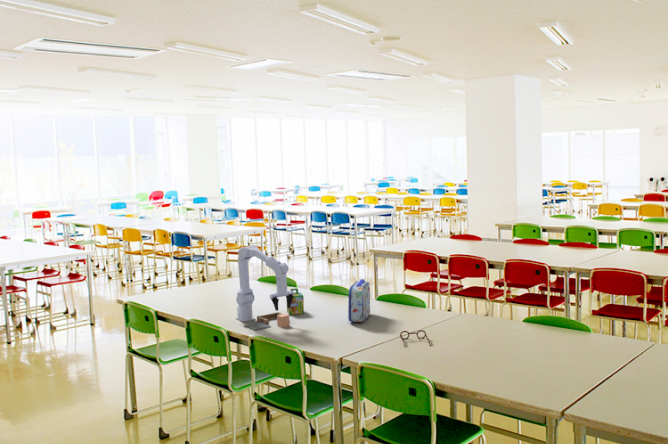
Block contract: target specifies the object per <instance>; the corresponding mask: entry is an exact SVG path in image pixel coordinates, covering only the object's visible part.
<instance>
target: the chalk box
mask: <svg viewBox="0 0 668 444" xmlns="http://www.w3.org/2000/svg"><path fill="white" fill-rule="evenodd" d="M290 291H294V295H293V296H294V298H293V300H292V302H291V306H290V308H287V307H286V312H287V315H289V316H291V315H292V316H294V315H304V314H305V307H304V305H305V303H304V295H303V293H302V292H299V289H298V288H297V287H296V288H290Z"/></svg>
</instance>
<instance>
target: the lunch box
mask: <svg viewBox="0 0 668 444" xmlns="http://www.w3.org/2000/svg"><path fill="white" fill-rule="evenodd" d="M370 287H371V286H370V282H369V281H365V279H359V280H356V281H355V282H354V283H353V284H351V286H350V287H349V290H348V294H347V295H348V296H347V297H348V305H347V307H348V308H347V309H348V310H347V313H348V315H347V319H348V321H349V322H352V323H364V321H366V320H367V319H368V318H369V316H370V314H371V288H370Z"/></svg>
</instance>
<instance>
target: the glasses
mask: <svg viewBox="0 0 668 444" xmlns="http://www.w3.org/2000/svg"><path fill="white" fill-rule="evenodd" d="M420 332H422V333H424V336H423V337H419V333H420ZM404 333H407V337H405V338H404V337H403V335H402V334H404ZM410 335H416V337H417V339H419V340H421V339H420V338H423V339H425V338H426V340H427V342H428V344H429V347H431V346H432V345H431V343H430V339H429V337H428V335H427V333H426V331H425V330H424V329H419V330H418V331H417V332H413V331H412V332H409V331H407V330H403V331H400V334H399V338H400V339H401V340H402V342H403V347H404V348H406V344H405V340H408V339H409V338H410Z"/></svg>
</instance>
